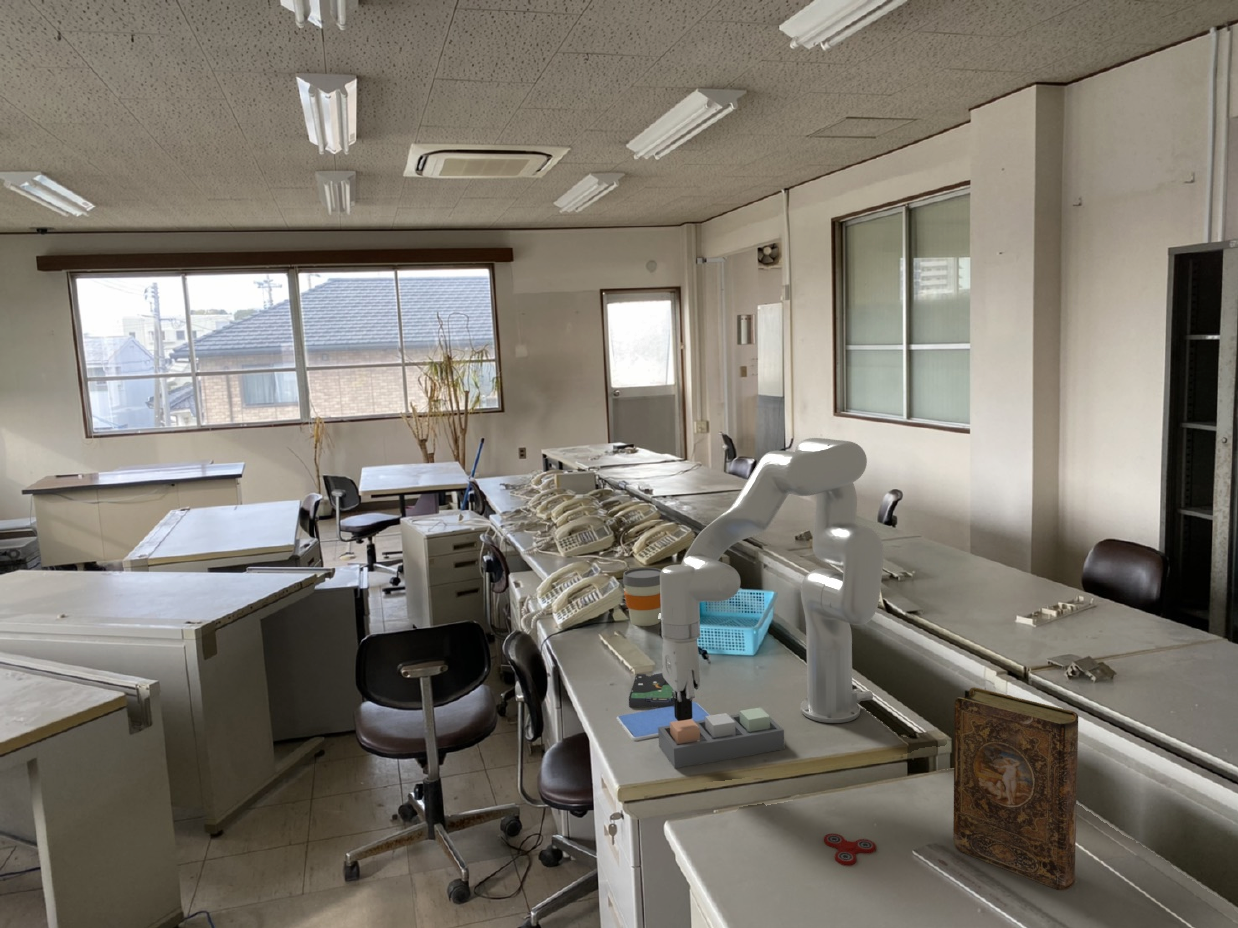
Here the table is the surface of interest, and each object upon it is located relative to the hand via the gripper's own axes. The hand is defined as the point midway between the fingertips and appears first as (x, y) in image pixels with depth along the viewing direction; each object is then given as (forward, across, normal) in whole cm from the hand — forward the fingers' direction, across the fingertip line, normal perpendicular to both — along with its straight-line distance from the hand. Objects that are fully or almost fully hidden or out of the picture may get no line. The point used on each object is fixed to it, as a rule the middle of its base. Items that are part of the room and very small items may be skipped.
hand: (683, 718), depth 166 cm
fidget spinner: (+8, +39, +14) cm, 43 cm away
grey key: (+4, 0, +8) cm, 9 cm away
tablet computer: (+8, -16, +1) cm, 18 cm away
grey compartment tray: (+7, 0, +8) cm, 11 cm away
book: (+7, +50, +35) cm, 62 cm away
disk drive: (+8, -31, +3) cm, 32 cm away
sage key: (+4, 0, +15) cm, 16 cm away
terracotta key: (+4, 0, 0) cm, 4 cm away
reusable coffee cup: (+7, -84, +17) cm, 87 cm away
